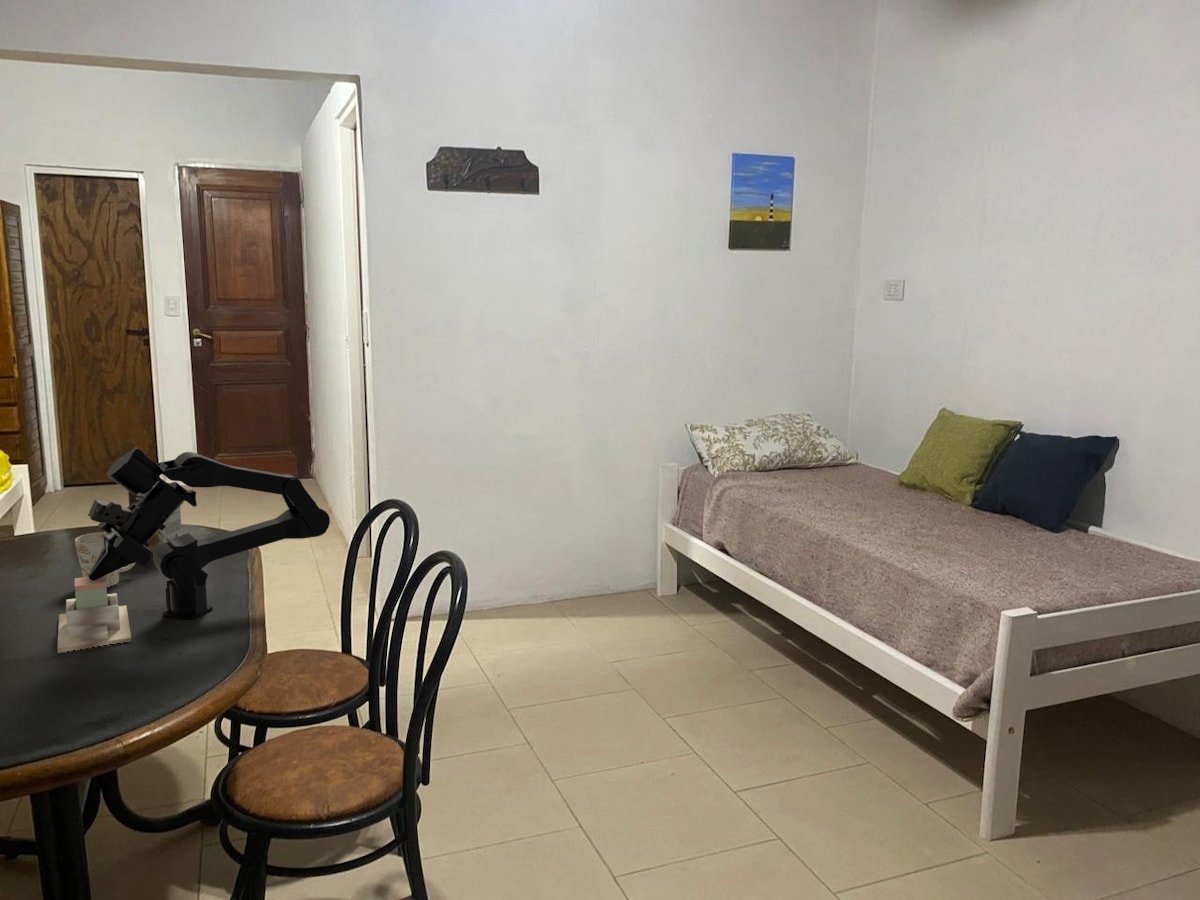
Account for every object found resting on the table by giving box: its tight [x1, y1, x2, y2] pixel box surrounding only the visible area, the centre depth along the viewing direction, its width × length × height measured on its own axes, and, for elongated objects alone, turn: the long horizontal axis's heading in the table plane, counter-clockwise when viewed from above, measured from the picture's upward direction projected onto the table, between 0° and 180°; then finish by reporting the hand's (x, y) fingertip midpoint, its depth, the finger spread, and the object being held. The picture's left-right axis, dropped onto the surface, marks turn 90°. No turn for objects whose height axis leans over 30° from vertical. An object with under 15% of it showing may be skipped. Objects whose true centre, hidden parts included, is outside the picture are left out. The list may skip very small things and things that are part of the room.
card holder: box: [57, 592, 132, 654], centre depth 163 cm, size 11×18×5 cm, turn 29°
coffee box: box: [127, 481, 183, 555], centre depth 208 cm, size 9×6×16 cm
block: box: [74, 575, 108, 610], centre depth 162 cm, size 5×5×8 cm
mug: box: [74, 531, 136, 588], centre depth 188 cm, size 8×13×10 cm, turn 152°
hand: (90, 578), depth 162 cm, fingers closed, pressing on block
